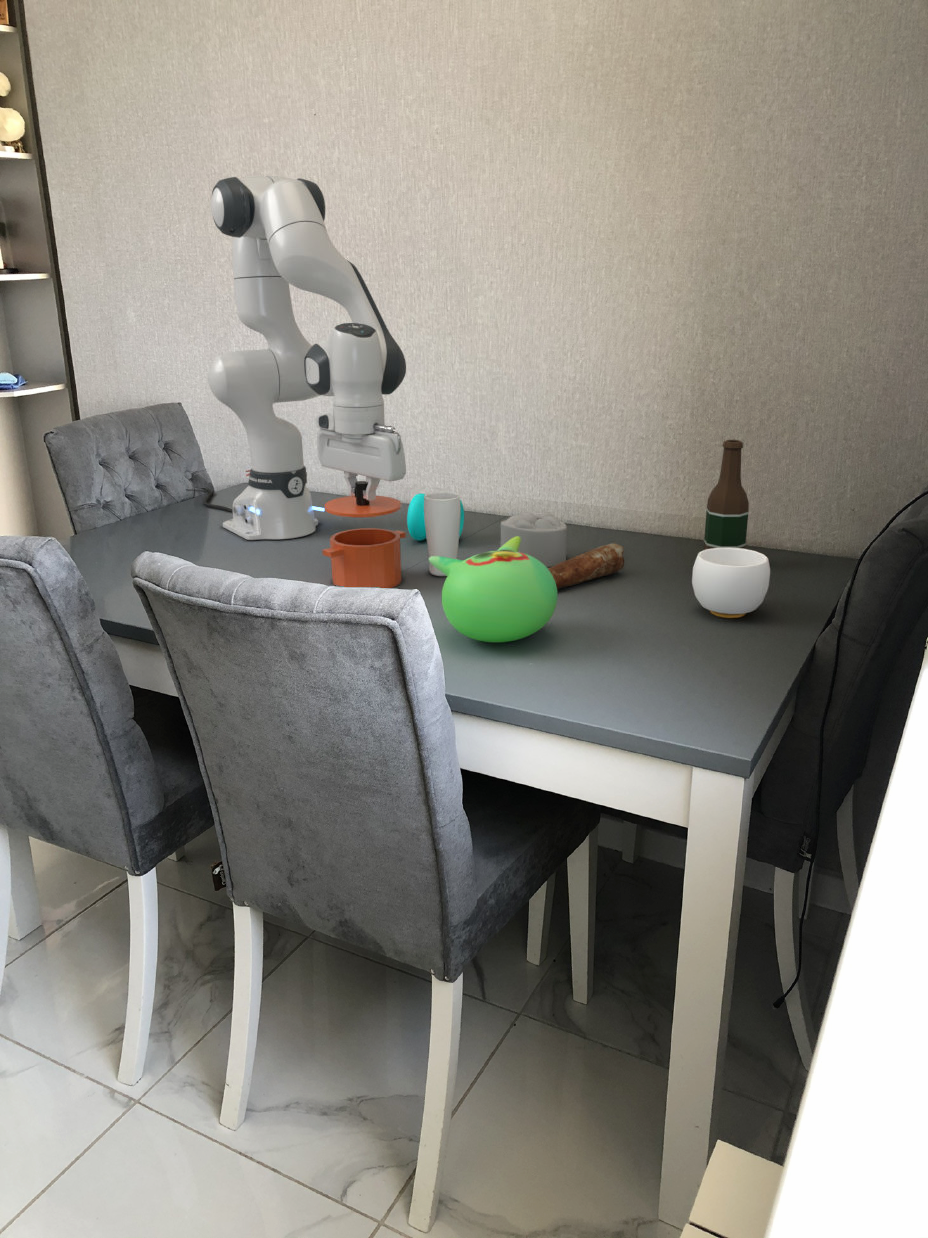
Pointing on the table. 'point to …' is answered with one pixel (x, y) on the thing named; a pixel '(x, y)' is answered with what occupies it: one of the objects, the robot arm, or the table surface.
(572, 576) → the cassava root
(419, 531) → the donuts
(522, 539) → the lumpy-topped squat cylinder
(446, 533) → the drinking glass
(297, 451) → the robot arm
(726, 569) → the cup
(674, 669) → the table surface
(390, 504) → the lid
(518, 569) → the toy bird
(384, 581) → the pot
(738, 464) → the beer bottle
